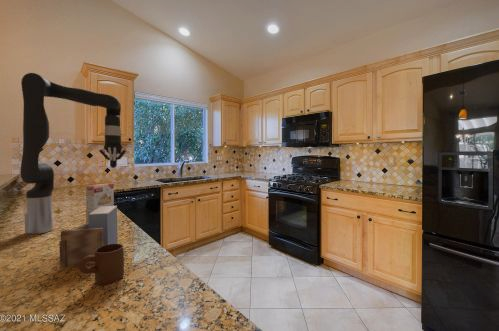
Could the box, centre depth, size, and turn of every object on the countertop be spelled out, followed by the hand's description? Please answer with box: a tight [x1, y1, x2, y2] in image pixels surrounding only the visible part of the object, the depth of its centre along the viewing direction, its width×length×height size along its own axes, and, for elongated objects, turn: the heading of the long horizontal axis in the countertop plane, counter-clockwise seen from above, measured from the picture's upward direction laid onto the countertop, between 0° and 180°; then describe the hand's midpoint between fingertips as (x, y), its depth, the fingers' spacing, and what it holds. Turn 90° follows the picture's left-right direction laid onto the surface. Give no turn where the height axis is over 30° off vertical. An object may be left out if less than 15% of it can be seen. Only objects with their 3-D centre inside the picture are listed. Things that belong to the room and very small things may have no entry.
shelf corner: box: [58, 221, 103, 269], centre depth 93 cm, size 12×32×12 cm, turn 16°
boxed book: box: [88, 205, 119, 246], centre depth 92 cm, size 6×14×16 cm, turn 17°
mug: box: [77, 243, 125, 285], centre depth 69 cm, size 12×8×9 cm, turn 149°
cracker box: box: [85, 182, 115, 223], centre depth 133 cm, size 14×6×21 cm, turn 168°
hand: (113, 167), depth 124 cm, fingers closed
